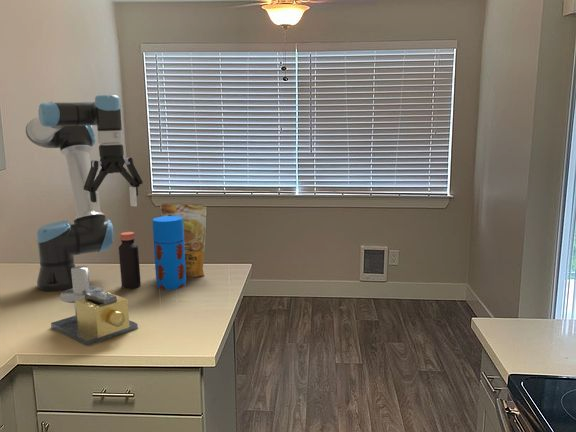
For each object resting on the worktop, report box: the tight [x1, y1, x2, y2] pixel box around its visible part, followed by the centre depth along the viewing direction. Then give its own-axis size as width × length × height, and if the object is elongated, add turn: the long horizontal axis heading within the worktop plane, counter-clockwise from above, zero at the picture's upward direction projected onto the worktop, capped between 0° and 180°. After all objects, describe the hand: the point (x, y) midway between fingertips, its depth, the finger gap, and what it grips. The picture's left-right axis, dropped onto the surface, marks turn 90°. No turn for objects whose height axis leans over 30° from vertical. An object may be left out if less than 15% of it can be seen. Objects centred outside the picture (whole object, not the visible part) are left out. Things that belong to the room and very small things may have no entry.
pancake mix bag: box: [158, 203, 209, 278], centre depth 214 cm, size 7×19×28 cm, turn 76°
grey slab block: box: [84, 290, 117, 305], centre depth 159 cm, size 10×4×10 cm, turn 51°
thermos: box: [152, 216, 187, 291], centre depth 201 cm, size 11×11×25 cm
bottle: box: [118, 231, 142, 290], centre depth 201 cm, size 7×7×20 cm
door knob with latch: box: [50, 265, 139, 347], centre depth 161 cm, size 26×16×18 cm, turn 49°
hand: (116, 209), depth 181 cm, fingers open, 13 cm apart
